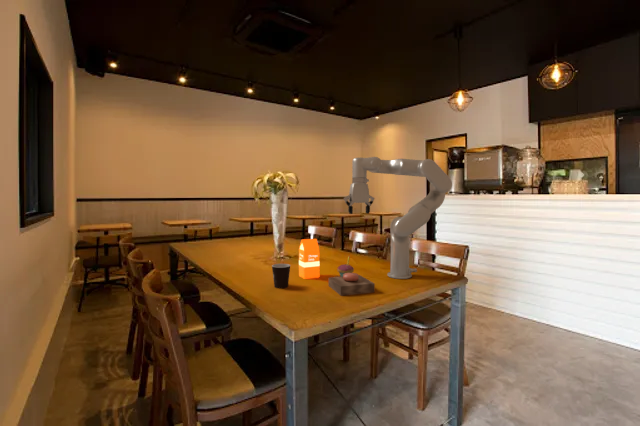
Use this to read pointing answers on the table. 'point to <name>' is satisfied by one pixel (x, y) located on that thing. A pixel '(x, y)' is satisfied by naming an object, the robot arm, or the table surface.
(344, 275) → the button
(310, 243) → the orange juice
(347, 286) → the brown wooden tray
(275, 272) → the coffee mug
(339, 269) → the cupcake
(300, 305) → the table surface
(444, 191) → the robot arm
